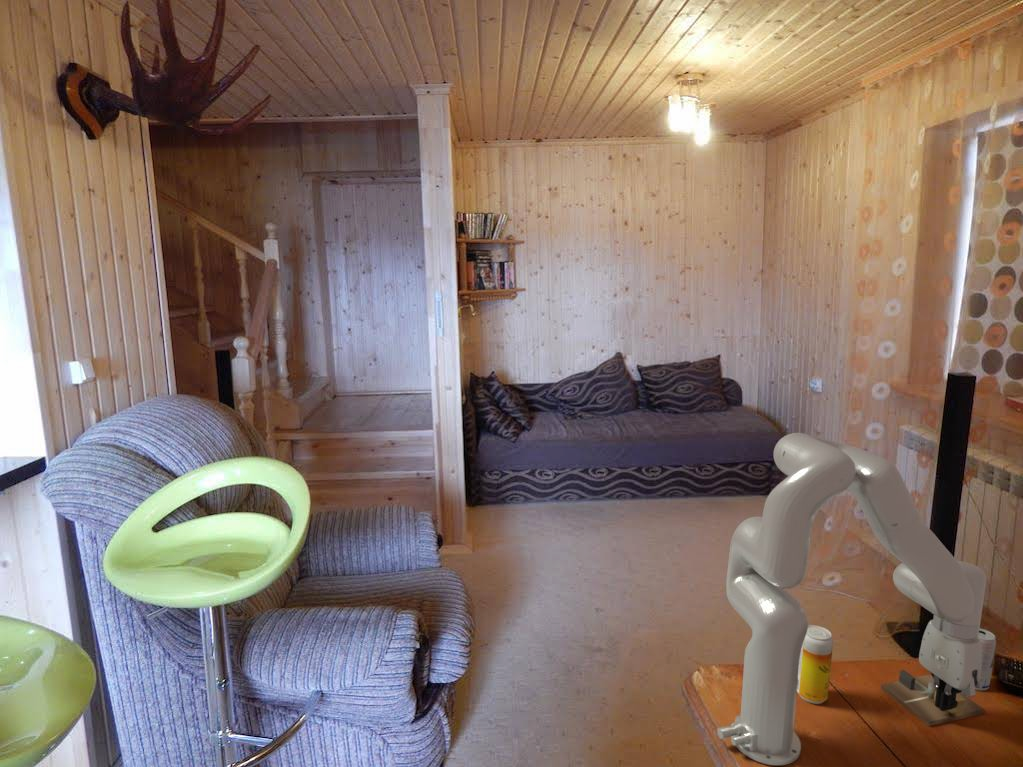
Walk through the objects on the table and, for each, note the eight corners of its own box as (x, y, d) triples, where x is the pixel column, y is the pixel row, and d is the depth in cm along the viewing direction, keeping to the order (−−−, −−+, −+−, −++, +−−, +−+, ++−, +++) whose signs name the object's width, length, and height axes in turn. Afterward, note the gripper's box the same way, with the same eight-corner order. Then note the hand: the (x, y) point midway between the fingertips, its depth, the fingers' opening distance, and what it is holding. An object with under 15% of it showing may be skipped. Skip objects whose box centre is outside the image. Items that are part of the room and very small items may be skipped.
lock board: (928, 726, 131) (931, 708, 130) (881, 688, 142) (882, 672, 142) (983, 713, 135) (986, 695, 134) (932, 677, 146) (934, 661, 145)
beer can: (830, 707, 137) (837, 641, 134) (799, 703, 138) (805, 638, 135) (823, 688, 143) (829, 625, 140) (793, 685, 144) (798, 622, 141)
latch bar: (933, 700, 137) (935, 686, 136) (941, 699, 137) (943, 684, 137) (955, 716, 132) (957, 701, 131) (963, 714, 133) (965, 699, 132)
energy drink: (988, 681, 145) (995, 631, 143) (990, 694, 140) (997, 643, 138) (959, 673, 148) (965, 624, 145) (959, 686, 143) (966, 635, 141)
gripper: (908, 607, 135) (898, 687, 139) (976, 648, 121) (963, 736, 125) (937, 602, 137) (927, 681, 141) (1007, 642, 123) (994, 729, 127)
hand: (944, 707), depth 133 cm, fingers closed
